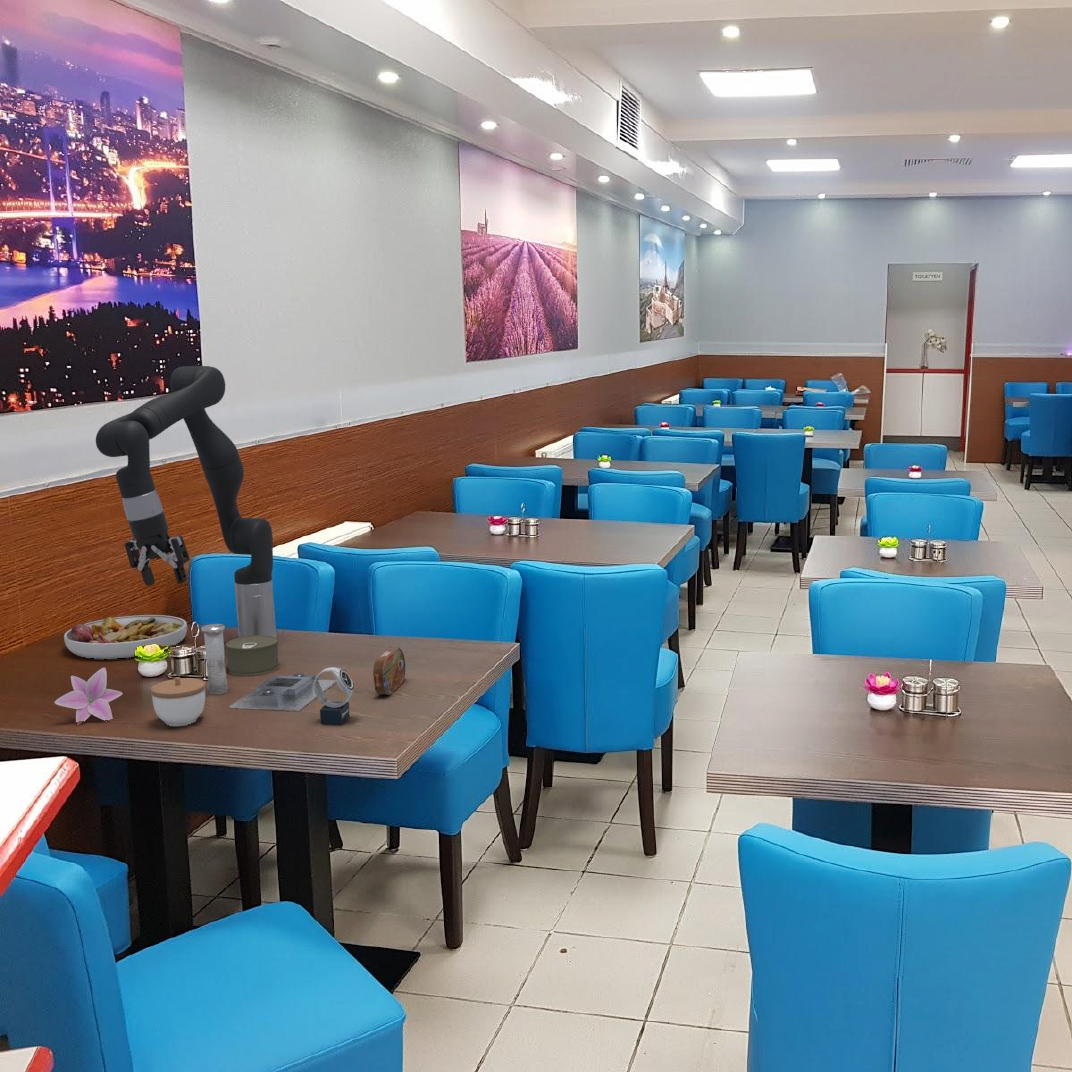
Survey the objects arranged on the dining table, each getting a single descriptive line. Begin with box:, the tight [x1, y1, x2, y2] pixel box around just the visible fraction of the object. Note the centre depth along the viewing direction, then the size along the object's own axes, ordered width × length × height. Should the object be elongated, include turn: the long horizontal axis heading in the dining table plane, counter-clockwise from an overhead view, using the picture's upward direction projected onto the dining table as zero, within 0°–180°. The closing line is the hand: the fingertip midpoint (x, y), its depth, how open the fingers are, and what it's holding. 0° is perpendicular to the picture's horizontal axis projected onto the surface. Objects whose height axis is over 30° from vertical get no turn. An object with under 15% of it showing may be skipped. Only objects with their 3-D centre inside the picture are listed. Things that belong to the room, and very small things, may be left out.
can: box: [225, 635, 280, 677], centre depth 278 cm, size 12×12×7 cm
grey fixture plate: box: [228, 672, 337, 712], centre depth 258 cm, size 21×16×3 cm
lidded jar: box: [150, 676, 206, 727], centre depth 241 cm, size 11×11×9 cm
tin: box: [372, 647, 406, 696], centre depth 260 cm, size 15×3×8 cm, turn 168°
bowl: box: [63, 614, 188, 660], centre depth 303 cm, size 30×30×8 cm
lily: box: [54, 667, 123, 723], centre depth 245 cm, size 12×12×10 cm
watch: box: [313, 666, 355, 726], centre depth 239 cm, size 6×8×11 cm
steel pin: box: [200, 623, 228, 696], centre depth 260 cm, size 5×5×15 cm
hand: (166, 583), depth 254 cm, fingers open, 8 cm apart
